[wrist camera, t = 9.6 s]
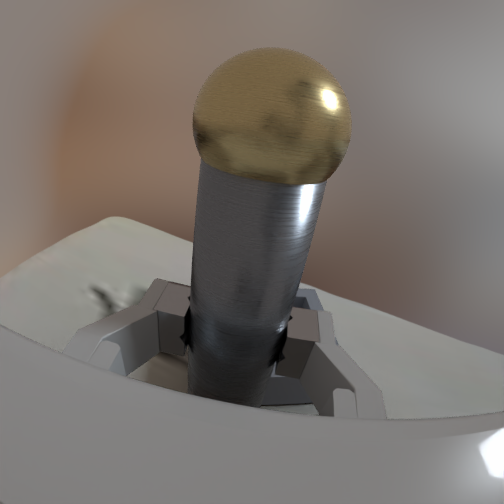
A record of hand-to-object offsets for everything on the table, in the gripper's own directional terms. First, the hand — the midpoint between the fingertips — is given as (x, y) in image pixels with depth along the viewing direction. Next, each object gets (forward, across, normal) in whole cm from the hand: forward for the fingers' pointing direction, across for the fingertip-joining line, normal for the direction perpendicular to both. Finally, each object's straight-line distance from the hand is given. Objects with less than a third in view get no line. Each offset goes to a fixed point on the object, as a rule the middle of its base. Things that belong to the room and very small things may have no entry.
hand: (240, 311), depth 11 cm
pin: (-1, 0, +8) cm, 8 cm away
